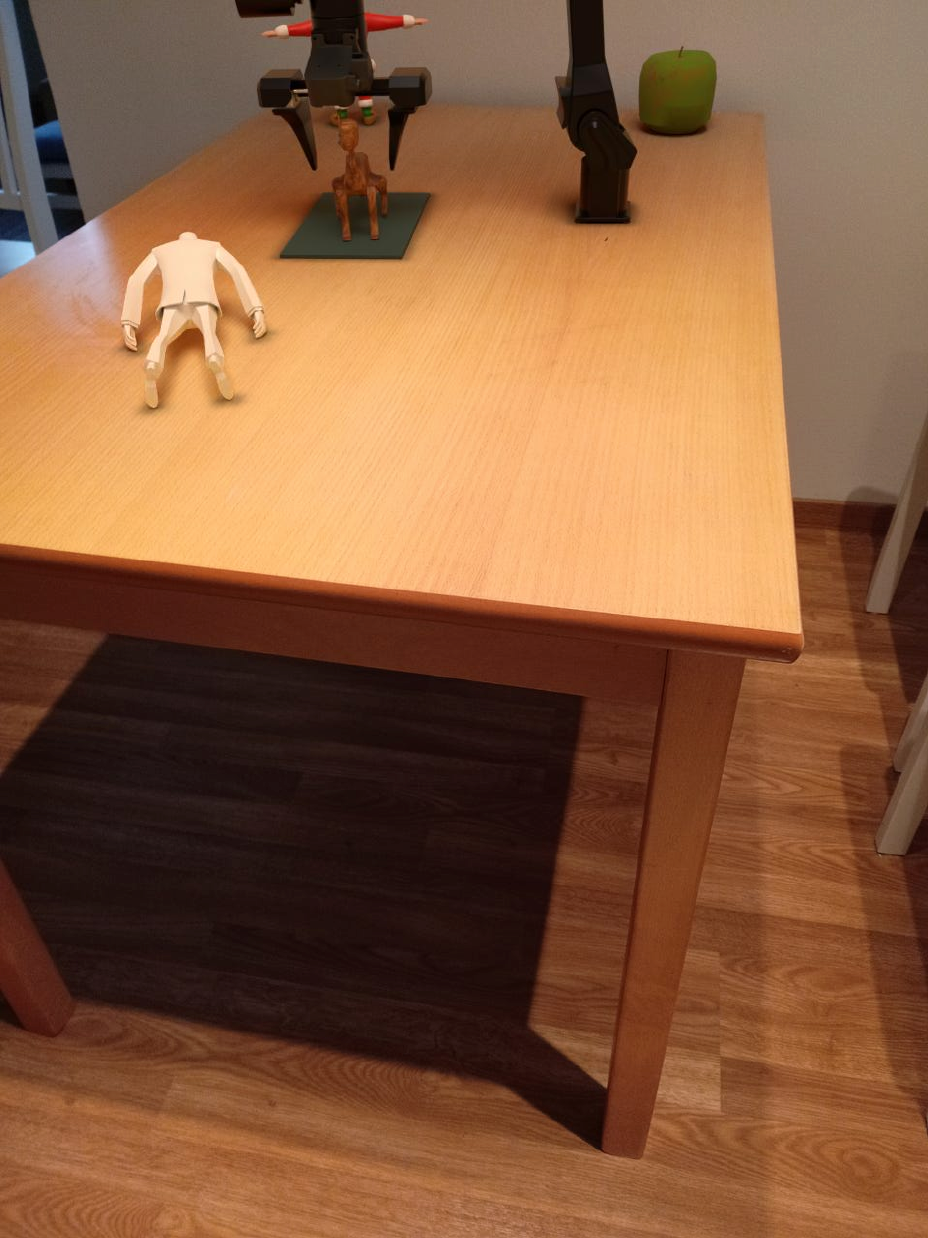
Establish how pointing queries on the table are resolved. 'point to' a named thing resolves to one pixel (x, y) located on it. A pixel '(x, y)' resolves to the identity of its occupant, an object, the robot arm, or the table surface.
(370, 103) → the santa figurine
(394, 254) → the mat
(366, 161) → the cat figurine
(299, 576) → the table surface
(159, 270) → the male figurine
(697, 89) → the apple
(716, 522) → the table surface
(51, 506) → the table surface
